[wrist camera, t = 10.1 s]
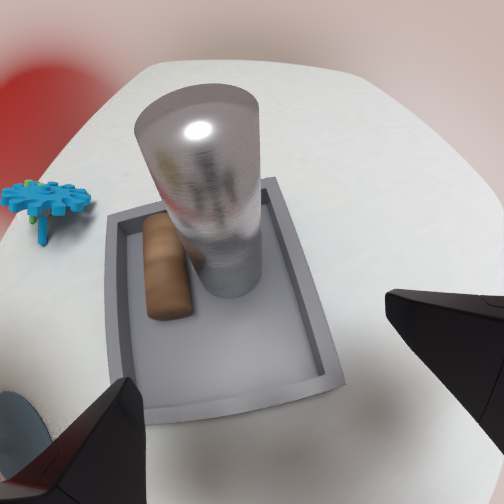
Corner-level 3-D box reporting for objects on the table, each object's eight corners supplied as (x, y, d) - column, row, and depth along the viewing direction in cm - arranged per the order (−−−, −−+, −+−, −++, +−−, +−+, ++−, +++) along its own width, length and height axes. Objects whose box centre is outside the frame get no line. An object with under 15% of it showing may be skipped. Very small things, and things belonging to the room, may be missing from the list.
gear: (109, 197, 23) (8, 203, 15) (101, 255, 25) (10, 273, 17) (67, 173, 28) (-6, 176, 19) (62, 219, 30) (-7, 228, 21)
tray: (335, 386, 17) (346, 384, 15) (134, 423, 16) (117, 426, 13) (274, 197, 24) (275, 176, 22) (119, 232, 23) (107, 215, 21)
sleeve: (275, 272, 20) (285, 112, 9) (223, 311, 19) (167, 174, 8) (235, 230, 22) (213, 74, 11) (186, 265, 21) (118, 119, 10)
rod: (179, 321, 19) (200, 306, 18) (140, 319, 18) (157, 302, 16) (170, 239, 23) (187, 218, 21) (136, 232, 21) (151, 209, 19)
